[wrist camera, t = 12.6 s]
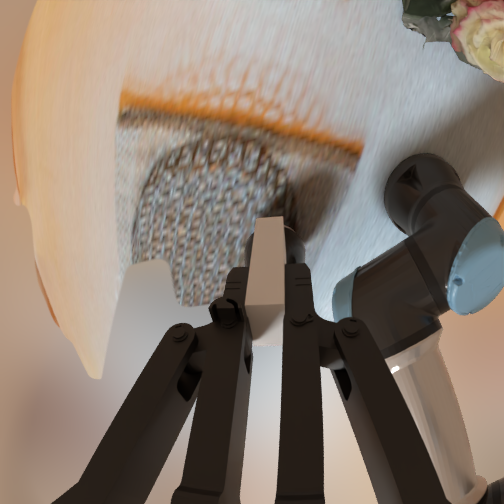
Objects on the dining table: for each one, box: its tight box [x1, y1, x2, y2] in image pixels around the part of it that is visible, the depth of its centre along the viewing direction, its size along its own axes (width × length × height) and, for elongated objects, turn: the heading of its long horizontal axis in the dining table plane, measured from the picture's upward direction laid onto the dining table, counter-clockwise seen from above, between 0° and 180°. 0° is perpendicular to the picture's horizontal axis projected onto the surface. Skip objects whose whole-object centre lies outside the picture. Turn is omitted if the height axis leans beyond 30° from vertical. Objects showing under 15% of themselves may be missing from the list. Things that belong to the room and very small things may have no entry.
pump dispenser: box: [244, 225, 305, 267], centre depth 46 cm, size 10×10×15 cm
